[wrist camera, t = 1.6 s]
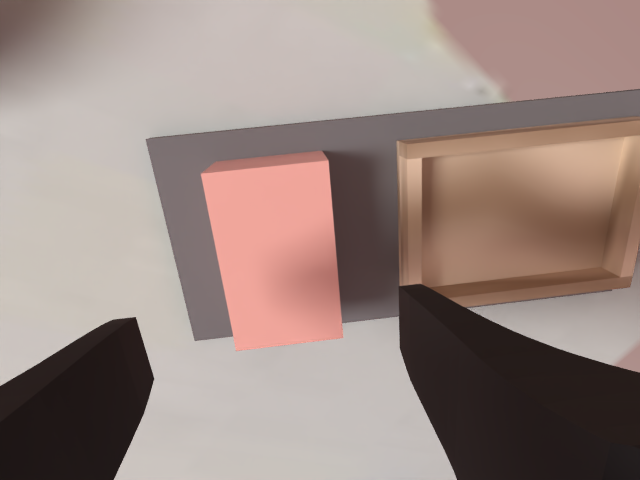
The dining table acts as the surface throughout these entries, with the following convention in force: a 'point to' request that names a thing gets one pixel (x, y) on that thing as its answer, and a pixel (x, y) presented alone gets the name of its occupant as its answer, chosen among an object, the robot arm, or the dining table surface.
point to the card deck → (276, 248)
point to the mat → (336, 191)
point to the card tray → (520, 211)
